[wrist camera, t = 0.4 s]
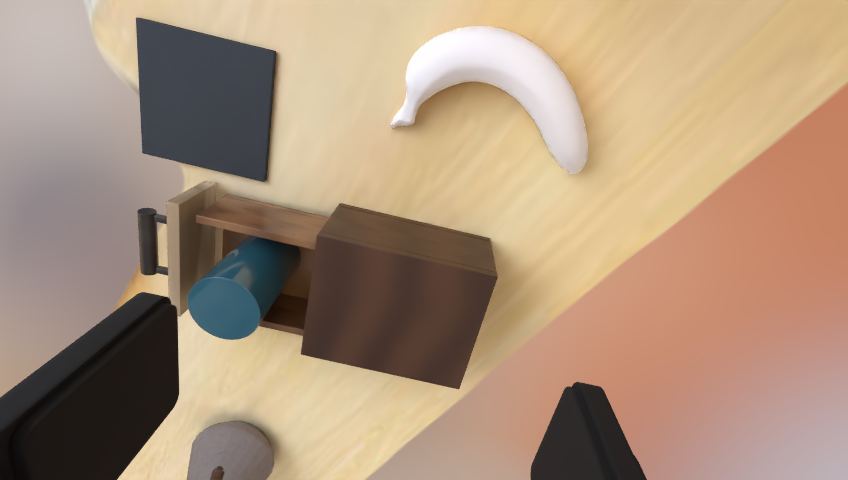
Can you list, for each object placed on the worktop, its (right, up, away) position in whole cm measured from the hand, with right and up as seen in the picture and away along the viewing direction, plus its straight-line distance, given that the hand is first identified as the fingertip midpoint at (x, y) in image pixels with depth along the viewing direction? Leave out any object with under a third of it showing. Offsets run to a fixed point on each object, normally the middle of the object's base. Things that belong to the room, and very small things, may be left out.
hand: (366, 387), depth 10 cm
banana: (+8, +15, +32) cm, 37 cm away
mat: (-20, +17, +33) cm, 42 cm away
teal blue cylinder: (-15, +2, +37) cm, 40 cm away
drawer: (-18, +3, +38) cm, 42 cm away
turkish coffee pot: (-23, -22, +51) cm, 60 cm away
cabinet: (-1, 0, +40) cm, 40 cm away
